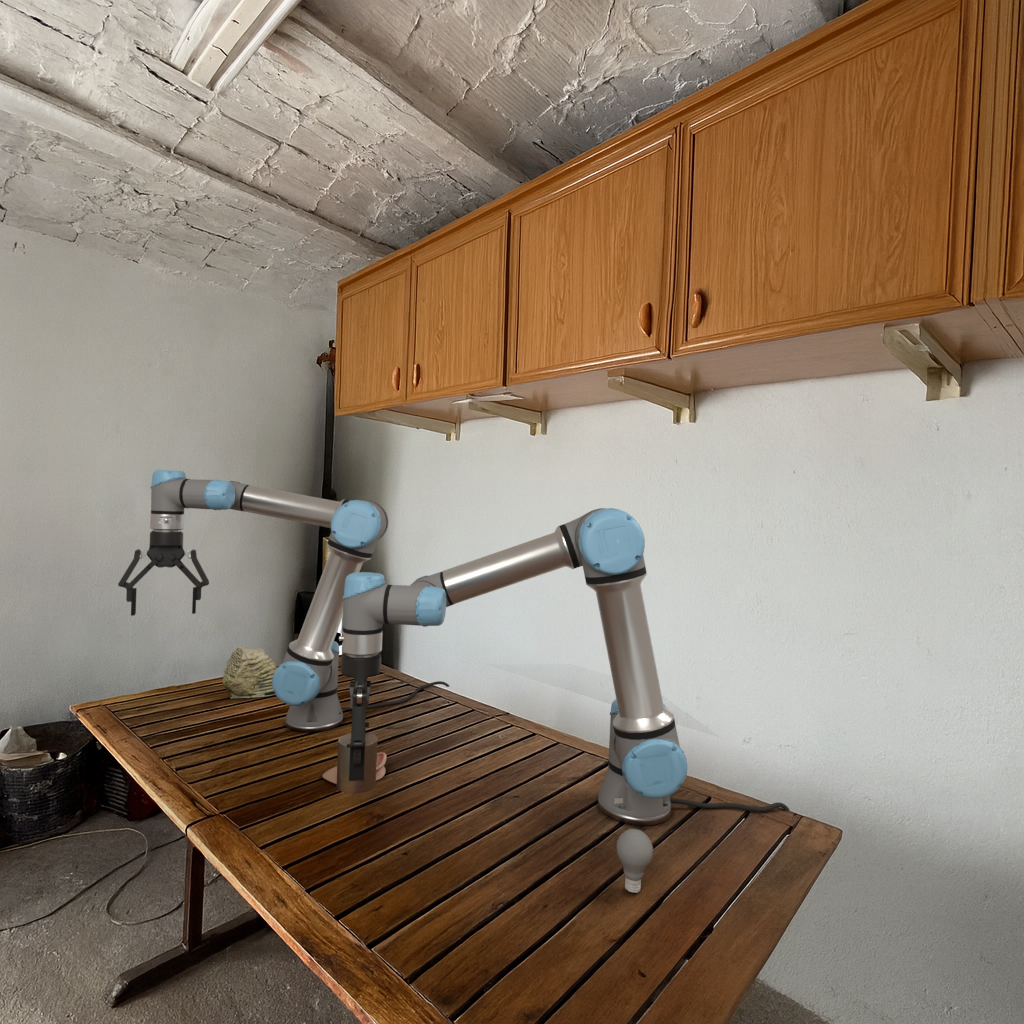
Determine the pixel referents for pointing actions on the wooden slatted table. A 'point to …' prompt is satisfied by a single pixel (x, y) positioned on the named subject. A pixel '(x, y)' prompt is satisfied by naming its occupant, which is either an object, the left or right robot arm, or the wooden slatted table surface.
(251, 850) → the wooden slatted table surface
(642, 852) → the light bulb
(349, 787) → the canister
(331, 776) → the anatomical model
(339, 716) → the left robot arm
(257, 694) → the fossil
